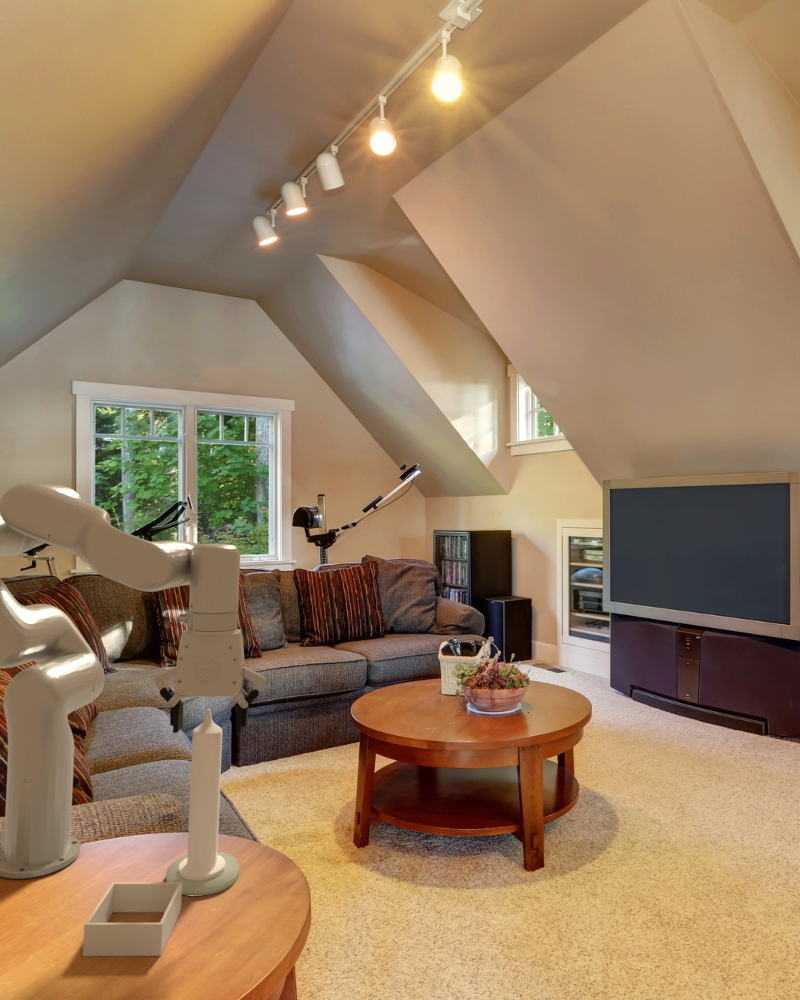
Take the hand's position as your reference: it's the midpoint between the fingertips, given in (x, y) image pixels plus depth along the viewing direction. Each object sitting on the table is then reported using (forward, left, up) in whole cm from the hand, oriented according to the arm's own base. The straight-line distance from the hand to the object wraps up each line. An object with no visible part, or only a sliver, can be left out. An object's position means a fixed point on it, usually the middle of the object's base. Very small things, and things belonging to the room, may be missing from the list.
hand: (208, 730), depth 105 cm
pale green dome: (0, 0, -23) cm, 23 cm away
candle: (0, 0, -22) cm, 22 cm away
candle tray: (+1, -15, -23) cm, 27 cm away
